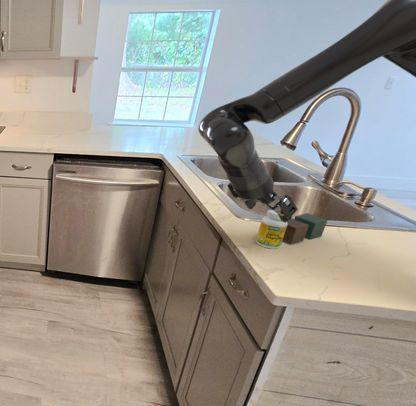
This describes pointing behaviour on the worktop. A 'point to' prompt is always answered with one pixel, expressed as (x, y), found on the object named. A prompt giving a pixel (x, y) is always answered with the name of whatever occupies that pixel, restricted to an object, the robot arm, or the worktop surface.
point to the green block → (312, 225)
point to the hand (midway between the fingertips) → (269, 212)
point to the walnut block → (295, 232)
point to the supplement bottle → (271, 231)
